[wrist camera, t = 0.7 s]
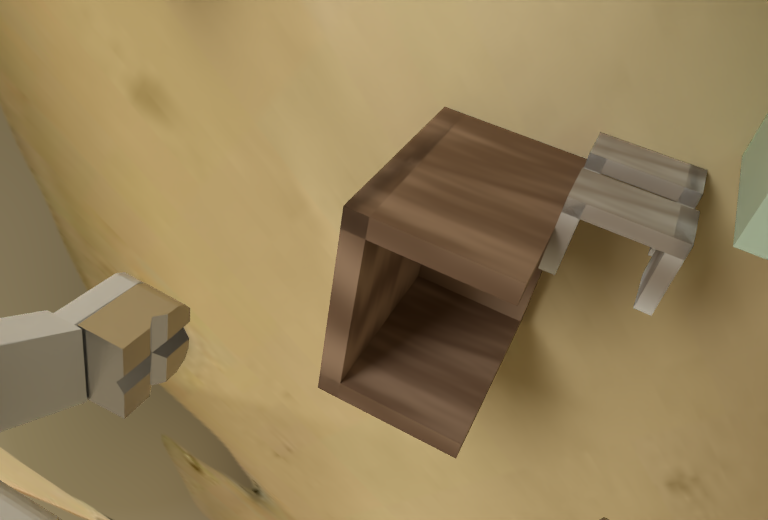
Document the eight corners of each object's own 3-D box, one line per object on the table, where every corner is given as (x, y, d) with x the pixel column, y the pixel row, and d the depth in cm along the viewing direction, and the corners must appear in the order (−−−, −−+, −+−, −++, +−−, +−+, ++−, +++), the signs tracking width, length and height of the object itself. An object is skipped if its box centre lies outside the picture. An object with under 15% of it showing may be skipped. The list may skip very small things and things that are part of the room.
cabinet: (451, 79, 42) (348, 173, 32) (707, 170, 38) (681, 311, 28) (405, 272, 53) (318, 387, 43) (600, 359, 49) (554, 509, 39)
